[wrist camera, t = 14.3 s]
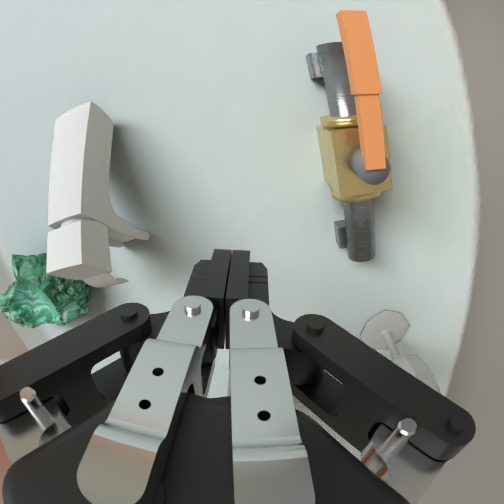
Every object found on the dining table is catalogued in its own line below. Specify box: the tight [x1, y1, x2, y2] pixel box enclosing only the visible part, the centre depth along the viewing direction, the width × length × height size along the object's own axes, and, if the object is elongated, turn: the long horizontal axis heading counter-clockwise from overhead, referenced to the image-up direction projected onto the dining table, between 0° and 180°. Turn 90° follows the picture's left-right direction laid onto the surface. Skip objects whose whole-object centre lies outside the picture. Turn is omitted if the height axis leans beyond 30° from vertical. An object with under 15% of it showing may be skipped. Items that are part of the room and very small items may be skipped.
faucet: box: [46, 101, 150, 288], centre depth 35 cm, size 6×16×20 cm
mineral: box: [0, 253, 90, 328], centre depth 42 cm, size 18×16×10 cm
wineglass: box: [360, 310, 441, 394], centre depth 40 cm, size 9×9×21 cm
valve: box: [306, 42, 392, 262], centre depth 33 cm, size 26×6×8 cm, turn 12°
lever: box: [336, 10, 390, 185], centre depth 25 cm, size 17×3×4 cm, turn 10°
